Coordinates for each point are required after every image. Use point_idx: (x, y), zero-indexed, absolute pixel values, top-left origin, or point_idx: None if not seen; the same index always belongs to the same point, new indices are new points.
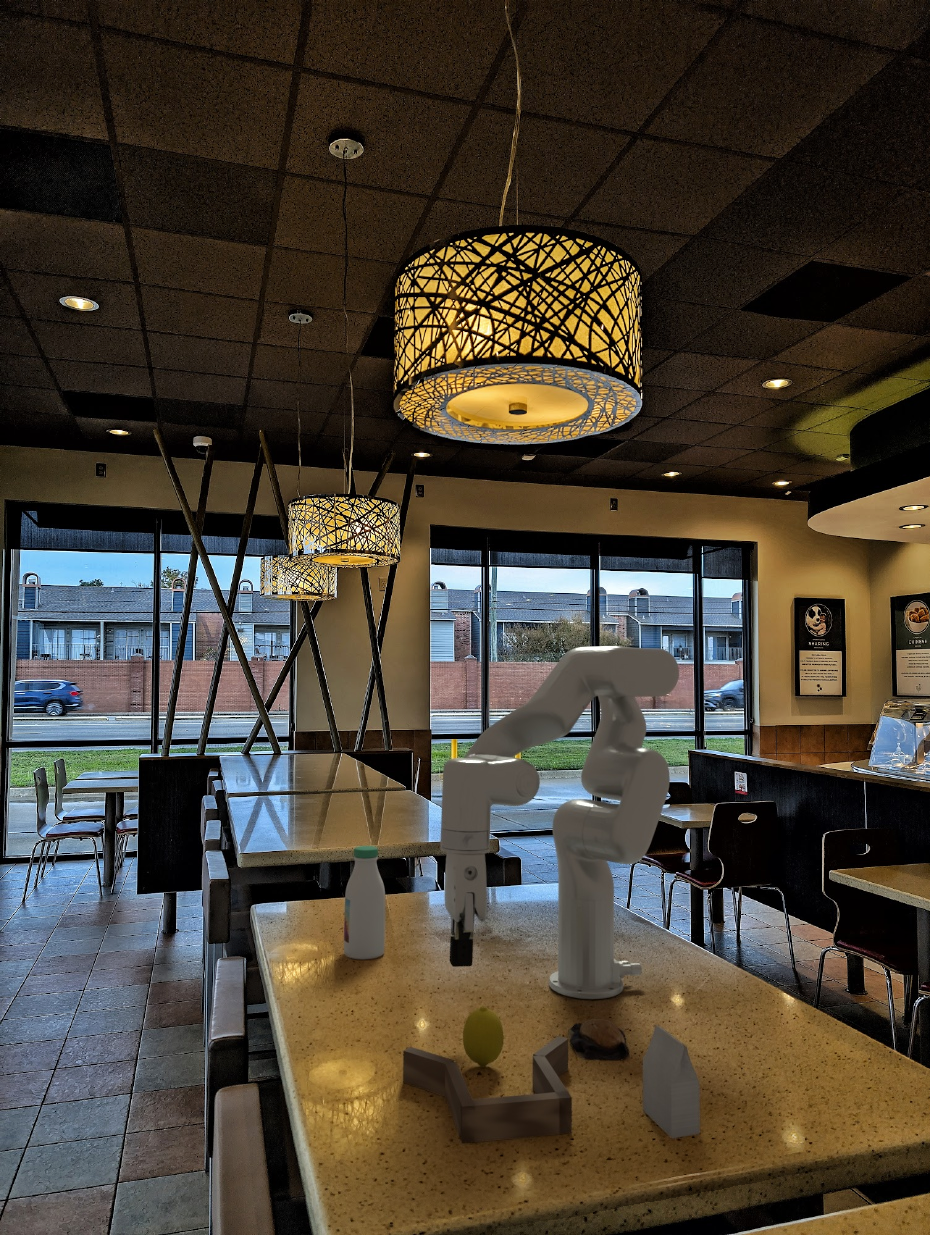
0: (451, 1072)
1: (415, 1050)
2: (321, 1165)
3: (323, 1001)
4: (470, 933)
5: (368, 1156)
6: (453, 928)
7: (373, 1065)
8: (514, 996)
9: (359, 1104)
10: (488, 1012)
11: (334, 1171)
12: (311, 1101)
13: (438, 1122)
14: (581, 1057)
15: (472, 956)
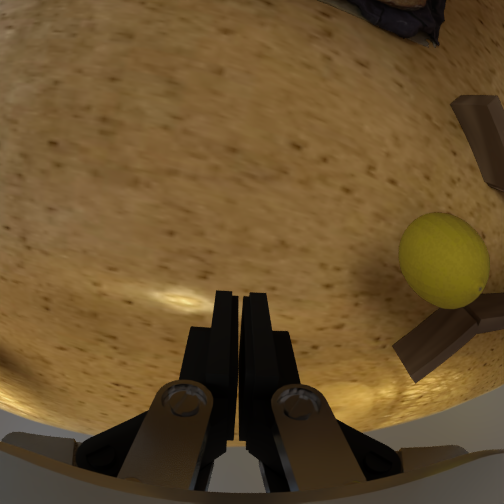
0: (495, 328)
1: (424, 369)
2: (467, 398)
3: (84, 403)
4: (365, 437)
5: (481, 373)
6: (210, 476)
7: (332, 383)
8: (63, 60)
9: (413, 389)
10: (486, 276)
11: (478, 390)
12: (381, 423)
13: None
14: (427, 43)
15: (268, 312)
